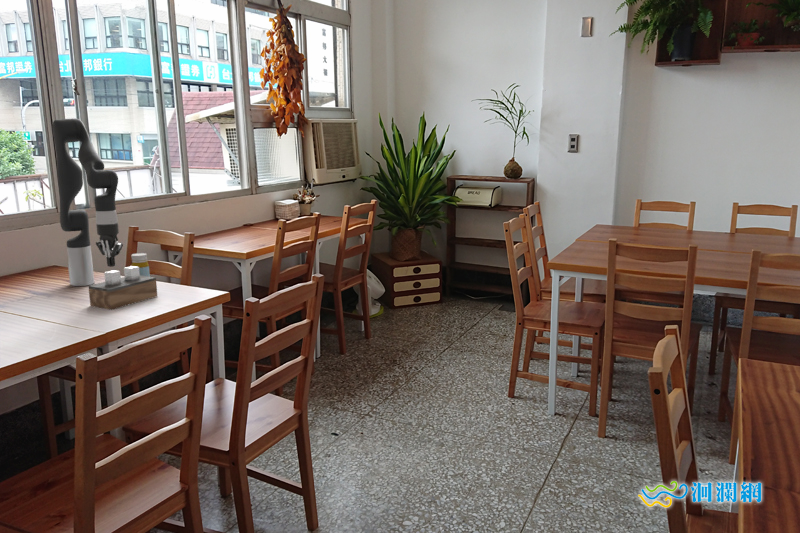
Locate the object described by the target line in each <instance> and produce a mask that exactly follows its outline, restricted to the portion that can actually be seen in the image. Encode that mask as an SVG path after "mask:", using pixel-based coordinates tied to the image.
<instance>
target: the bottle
mask: <svg viewBox="0 0 800 533" xmlns="http://www.w3.org/2000/svg"><path fill="white" fill-rule="evenodd" d="M130 256H131V257H130V258H131V264H130V266H136V267H139V273H140V275H142V276H148V277H151V275H150V264H149V262H148V254H147V253H146V252H145V253H144V252H138V253H137V252H136V253H132V254H131V255H130Z"/></svg>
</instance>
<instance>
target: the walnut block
mask: <svg viewBox="0 0 800 533" xmlns="http://www.w3.org/2000/svg"><path fill="white" fill-rule="evenodd" d="M157 285H158V284H157V277H155V276H154V277H153V276H150V277H148V276H142V275H140V279H138V280H134V281H128V280H125V276H122V277H121V284H118V285H114V286H109V285H106V284H105V281H103V282H98V283H96V284H95V283H94V284H91V285H87V286H88V294H89V304H90V305H91V306H90V307H94V306H95V308H100V309H107V310H110V309H111V311H112V309H113V310H115V308H116V309H119V308H122V306H123V307H126V306H128V304H130V305H133V304H136V303H139V301H140V302H143V301H146V300H145V299H147V300H149V299H148V298H150V299H153V298H152V297H154V298H156V297H155V296H157V297H158V289H157V288H158V287H157ZM142 300H143V301H142ZM135 302H136V303H135ZM132 303H133V304H132ZM125 305H126V306H125Z"/></svg>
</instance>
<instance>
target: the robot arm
mask: <svg viewBox="0 0 800 533" xmlns="http://www.w3.org/2000/svg"><path fill="white" fill-rule="evenodd" d="M88 132H89V131H88V130H87V129H86V126H85V124H84V123H83V121H82V120H81V119H79V118H74V117H73V118H59V119H54V120H53V122H52V135H53V136H52V137H53V141H54V148H55V155H56V174H57V175H56V177H57V186H58V193H59V223H60V227H61V229H62V231H63V232H67V233H68V232H79V231H80V233H79V234H77V235H76V236H75V237H72V238H69V239H67V240H66V250H67V257H68V258H67V259H68V263H67V269H68V276H69V277H68V278H69V285H70V286H73V287H85V286H90V285H94V284H95V275H94V274H95V273H94V266H93V265H94V264H93V256H92V254H93V253H92V246H91V239H90V223H89V214H88V211H86V210H85V209H72V210H71V209H70V208H71V205H72V203H73V201H74V199H75V198H76V197H77V196H78V194H79V193H80V192H81V190H82V188H83V185H84V178H83V177H84V175H83V170H82V168H83V169H84V172H85V175H86V182H87V185H88V186H89V187H90V188H92V189H95V190H98V189H99V190H100V189H105V192H104V193H102V194H99V195H95V197H94V206H95V224H96V225H95V226H96V233H97V235H98V236H99V241H96V242H95V245H96V247H97V248H98V250H99V252H100V253H101V255H102V256H104V257H106V264H107V267H111V268H112V267H115V266H116V259H115V257H116V256H119V255H120V253H121V251H122V248H123V246H124V244H123V243H122V242H121V243H120V242H119V238H118V234H119V232H120V230H119V221H118V220H119V219H118V214H117V210H116V209H117V207H116V195H117V194H116V193H117V188H118V185H119V176H118V174H117V173H116V171H115V170H113V169H105V164H104V161H103V160H102V159H101V156H99V154H98V153H97V151H96V150H95V147H94V145H93V142H92V139H91V137H90V135H89V133H88ZM77 142H78V143H79V142H80V147H79V150H78V153H77V158H78V160H79V163H77V161H76V160H75V159H74V158H73V157H72V156H71V155H70V153H69V152H68V150H67V147H66V146H67V145H66V144H68V143H69V144H70V143H77ZM79 164H80V165H81V166H82V168H81V166H80V165H79Z"/></svg>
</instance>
